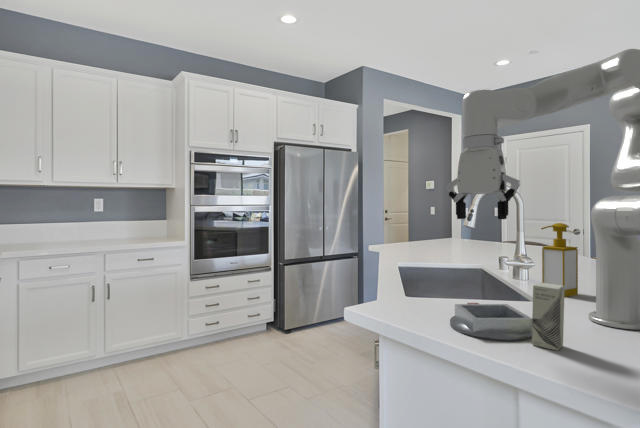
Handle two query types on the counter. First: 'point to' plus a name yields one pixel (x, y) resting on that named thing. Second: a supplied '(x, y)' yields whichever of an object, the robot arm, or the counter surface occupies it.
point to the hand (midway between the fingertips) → (481, 218)
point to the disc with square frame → (491, 322)
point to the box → (548, 315)
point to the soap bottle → (560, 262)
